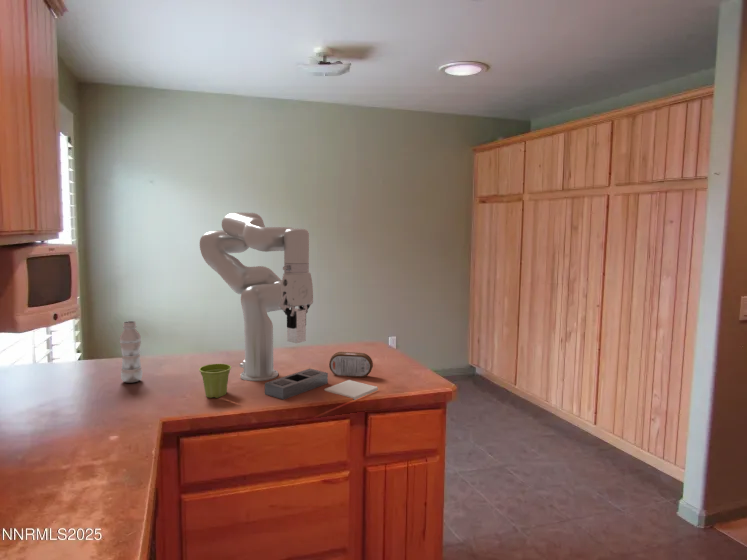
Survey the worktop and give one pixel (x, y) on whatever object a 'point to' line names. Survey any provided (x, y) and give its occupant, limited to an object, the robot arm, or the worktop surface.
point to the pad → (352, 389)
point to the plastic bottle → (130, 353)
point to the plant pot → (215, 379)
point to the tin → (351, 364)
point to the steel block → (298, 327)
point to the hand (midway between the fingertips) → (296, 326)
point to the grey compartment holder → (296, 383)
